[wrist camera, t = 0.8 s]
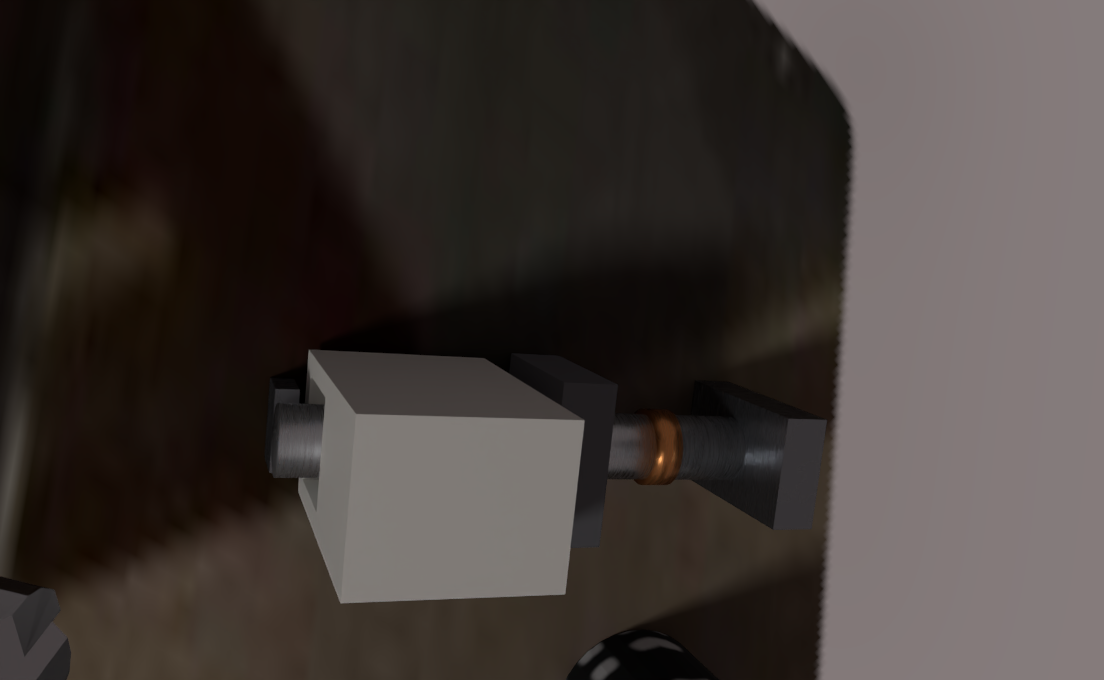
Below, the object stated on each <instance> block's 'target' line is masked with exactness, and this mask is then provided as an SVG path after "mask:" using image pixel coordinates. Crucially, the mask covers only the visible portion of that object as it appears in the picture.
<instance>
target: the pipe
mask: <svg viewBox="0 0 1104 680" xmlns="http://www.w3.org/2000/svg"><path fill="white" fill-rule="evenodd" d="M299 396H300V389H299V387H298V385H297V384H296V382H295V380H294V378H273V377H270V387H269V401H268V415H267V429H266V443H265V460H266V464H267V467H268V470H269V473H272V474H273V477H274V478H319V473H320V460H321V448H322V435H323V422H324V409H325V404H299ZM826 424H827V420H826V419H824V418H821V417H818V416H816V415H813V414H811V413H808V412H805V411H803V410H800V409H798V408H795V407H793V406H790V405H787V404H785V403H782V402H780V401H777V400H774V399H772V398H769V397H767V396H764V395H762V394H759V393H756V392H754V391H751V390H749V389H746V388H743V387H741V386H738V385H736V384H733V383H730V382H718V381H695V386H694V394H693V402H692V409H691V416H690V415H674V413H673V412H671V411H670V410H667V409H639V410H637V411H636V412H635V413H634V414H624V413H615V416H614V424H613V433H612V441H611V450H610V459H609V467H608V476H607V479H634V481H635V482H636V483H638V484H640V485H668V484H670V483H672V482H673V481H674V480H692V481H694V482H695V483H697V484H698V485H700V486H702V487H703V488H705V489H707V490H708V491H710V492H712V493H713V494H715V495H717V496H718V497H720V498H722V499H723V500H725V501H727V502H728V503H730V504H732V505H733V506H735V507H736V508H738V509H740V510H741V511H743V512H745V513H746V514H748V515H750V516H751V517H753V518H755V519H756V520H758V521H760V522H761V523H763V524H765V525H766V526H768V527H769V528H771V529H773V530H785V529H811V528H812V521H813V514H814V507H815V500H816V493H817V486H818V479H819V473H820V466H821V459H822V452H823V445H824V438H825V431H826Z"/></svg>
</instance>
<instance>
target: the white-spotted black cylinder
mask: <svg viewBox="0 0 1104 680" xmlns="http://www.w3.org/2000/svg"><path fill="white" fill-rule="evenodd" d="M566 680H718V679H717V678H716V677H715V676H714V675H713V674H712V673H711V672H710V671H709V670H708V669H707V668H706V667H705V666H704V665H703V664H701V663H700V662H699V661H698V660H697V659H696V658H695V657H694V656H693V655H692V654H691V653H690V652H689V651H688V650H687V649H686V648H684V647H683V646H682V645H681V644H680V643H679V642H677V641H676V640H674V639H673V638H671V637H670V636H668V635H665V634H662V633H660V632H657V631H649V630H634V631H627V632H624V633H620V634H617V635H614V636H612V637H610V638H608V639H606V640H604V641H602V642H600V643H599V644H598V645H596V646H595V647H593V648H592V649H591V650H589V651H588V652H587V653H586V654H585V655H584V656H583V657H582V658H581V659H580V660H579V661H578V662H577V664H576V665H575V666H574V668H573V669H572V671H571V672H570V673H569V675H568V677H567V679H566Z"/></svg>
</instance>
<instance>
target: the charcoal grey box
mask: <svg viewBox="0 0 1104 680" xmlns="http://www.w3.org/2000/svg"><path fill="white" fill-rule="evenodd" d="M509 374H511V375H512V376H514V377H515V378H517V379H519V380H520V381H522V382H524V383H525V384H527V385H528V386H530V387H532V388H533V389H535V390H536V391H538V392H540V393H541V394H543V395H545V396H546V397H548V398H549V399H551V400H553V401H554V402H556V403H558V404H559V405H561V406H562V407H564V408H566V409H567V410H569V411H570V412H572V413H574V414H575V415H577V416H579V417H580V418H582V419H583V420H585V422H584V431H583V440H582V449H581V458H580V467H579V476H578V484H577V493H576V502H575V511H574V520H573V529H572V538H571V547H570V548H581V547H599V545H600V536H601V527H602V519H603V510H604V502H605V493H606V484H607V476H608V467H609V459H610V450H611V441H612V433H613V424H614V416H615V407H616V398H617V390H618V384H616V383H614V382H612V381H610V380H607V379H605V378H603V377H601V376H599V375H597V374H595V373H593V372H591V371H589V370H587V369H585V368H583V367H581V366H579V365H577V364H575V363H573V362H571V361H569V360H567V359H565V358H563V357H561V356H557V355H537V354H518V353H511V360H510V369H509Z"/></svg>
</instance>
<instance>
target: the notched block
mask: <svg viewBox="0 0 1104 680" xmlns="http://www.w3.org/2000/svg"><path fill="white" fill-rule="evenodd" d="M305 404H325V409H324V422H323V435H322V448H321V460H320V473H319V478H299V486H298V492H299V495H300V498H301V500H302V503H303V505H304V508H305V511H306V513H307V516H308V519H309V521H310V524H311V527H312V529H313V532H314V535H315V537H316V540H317V543H318V545H319V548H320V551H321V553H322V556H323V558H324V561H325V564H326V566H327V569H328V572H329V574H330V577H331V580H332V582H333V585H334V588H335V590H336V593H337V596H338V598H339V601H340V603H359V602H384V601H410V600H435V599H461V598H486V597H512V596H537V595H563V594H565V591H566V582H567V573H568V564H569V556H570V547H571V538H572V529H573V520H574V511H575V502H576V493H577V484H578V476H579V467H580V458H581V449H582V440H583V431H584V422H585V420H583V419H582V418H580V417H579V416H577V415H575V414H574V413H572V412H570V411H569V410H567V409H566V408H564V407H562V406H561V405H559V404H558V403H556V402H554V401H553V400H551V399H549V398H548V397H546V396H545V395H543V394H541V393H540V392H538V391H536V390H535V389H533V388H532V387H530V386H528V385H527V384H525V383H524V382H522V381H520V380H519V379H517V378H515V377H514V376H512V375H511V374H509V373H507V372H506V371H504V370H502V369H501V368H499V367H498V366H496V365H494V364H493V363H491V362H489V361H488V360H486V359H485V358H471V357H451V356H430V355H410V354H390V353H369V352H349V351H329V350H309V354H308V367H307V380H306V394H305Z"/></svg>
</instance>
